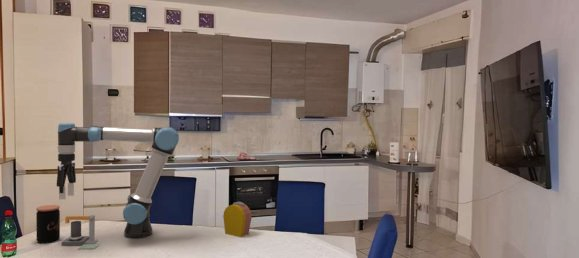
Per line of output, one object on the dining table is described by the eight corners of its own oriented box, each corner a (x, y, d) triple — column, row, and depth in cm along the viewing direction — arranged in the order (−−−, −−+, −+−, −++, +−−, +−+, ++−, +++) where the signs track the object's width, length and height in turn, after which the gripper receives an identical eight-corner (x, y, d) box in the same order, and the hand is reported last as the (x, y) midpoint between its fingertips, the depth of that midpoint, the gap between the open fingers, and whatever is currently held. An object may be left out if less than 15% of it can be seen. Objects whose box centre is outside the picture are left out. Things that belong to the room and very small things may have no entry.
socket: (99, 239, 213) (99, 217, 213) (92, 245, 203) (92, 222, 203) (70, 239, 212) (70, 217, 211) (61, 245, 202) (61, 222, 201)
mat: (99, 245, 204) (99, 244, 204) (94, 249, 198) (94, 248, 198) (83, 245, 203) (83, 244, 203) (78, 249, 197) (78, 248, 197)
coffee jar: (48, 244, 203) (48, 210, 203) (31, 242, 206) (31, 208, 205) (64, 238, 214) (64, 205, 213) (47, 236, 216) (47, 204, 215)
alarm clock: (251, 234, 228) (252, 203, 227) (242, 237, 221) (243, 205, 220) (232, 229, 236) (232, 199, 235) (223, 233, 229) (223, 202, 228)
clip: (95, 222, 209) (95, 215, 209) (93, 223, 206) (93, 216, 206) (67, 222, 208) (67, 215, 207) (65, 223, 205) (65, 216, 205)
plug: (83, 240, 210) (83, 220, 210) (79, 244, 205) (79, 223, 204) (73, 241, 210) (72, 220, 209) (68, 244, 204) (67, 223, 204)
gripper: (68, 151, 210) (68, 193, 211) (47, 155, 189) (48, 201, 190) (83, 151, 211) (83, 193, 212) (64, 155, 190) (64, 201, 191)
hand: (66, 197), depth 201 cm, fingers open, 8 cm apart
